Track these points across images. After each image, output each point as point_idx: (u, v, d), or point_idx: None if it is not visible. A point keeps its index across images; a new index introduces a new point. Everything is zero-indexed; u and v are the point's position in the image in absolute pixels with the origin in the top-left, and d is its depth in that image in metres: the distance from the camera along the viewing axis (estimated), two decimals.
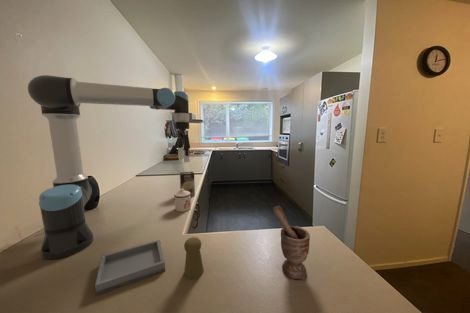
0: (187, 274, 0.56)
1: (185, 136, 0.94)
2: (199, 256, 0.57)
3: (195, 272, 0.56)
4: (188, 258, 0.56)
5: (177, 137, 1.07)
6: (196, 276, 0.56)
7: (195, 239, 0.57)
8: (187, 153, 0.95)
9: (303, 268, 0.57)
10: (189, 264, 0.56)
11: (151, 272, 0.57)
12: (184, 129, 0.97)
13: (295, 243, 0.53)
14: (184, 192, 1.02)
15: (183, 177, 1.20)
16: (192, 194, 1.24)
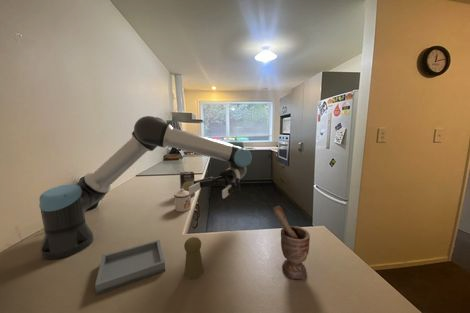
0: (187, 274, 0.56)
1: None
2: (199, 256, 0.57)
3: (195, 272, 0.56)
4: (188, 258, 0.56)
5: None
6: (196, 276, 0.56)
7: (195, 239, 0.57)
8: (232, 190, 0.66)
9: (303, 268, 0.57)
10: (189, 264, 0.56)
11: (151, 272, 0.57)
12: None
13: (295, 243, 0.53)
14: (184, 192, 1.02)
15: (183, 177, 1.20)
16: (192, 194, 1.24)
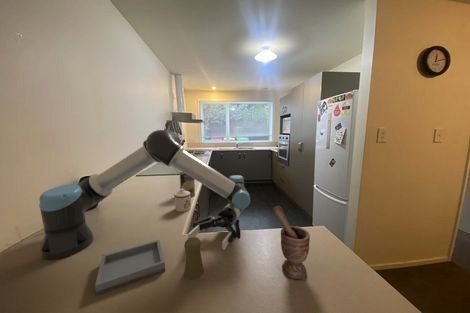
0: (187, 274, 0.56)
1: (238, 225, 0.74)
2: (199, 256, 0.57)
3: (195, 272, 0.56)
4: (188, 258, 0.56)
5: (204, 218, 0.78)
6: (196, 276, 0.56)
7: (195, 239, 0.57)
8: (232, 239, 0.65)
9: (303, 268, 0.57)
10: (189, 264, 0.56)
11: (151, 272, 0.57)
12: (233, 221, 0.78)
13: (295, 243, 0.53)
14: (184, 192, 1.02)
15: (183, 177, 1.20)
16: (192, 194, 1.24)
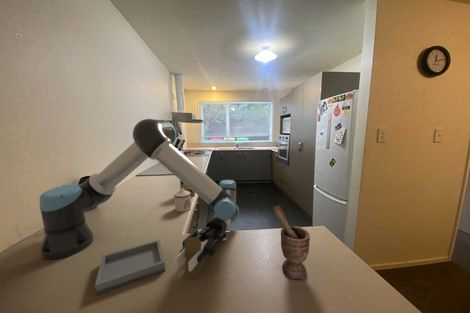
0: (187, 274, 0.56)
1: (221, 241, 0.63)
2: None
3: (195, 272, 0.56)
4: (188, 258, 0.56)
5: (191, 233, 0.66)
6: (196, 276, 0.56)
7: (195, 239, 0.57)
8: (202, 258, 0.56)
9: (303, 268, 0.57)
10: None
11: (151, 272, 0.57)
12: (223, 234, 0.68)
13: (295, 243, 0.53)
14: (184, 192, 1.02)
15: None
16: (192, 194, 1.24)
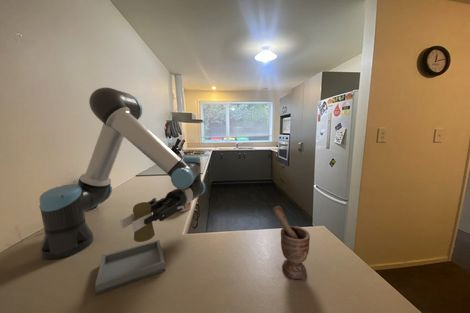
0: (135, 237, 0.56)
1: (175, 208, 0.63)
2: None
3: (143, 235, 0.56)
4: None
5: (147, 202, 0.67)
6: (144, 239, 0.56)
7: (144, 203, 0.58)
8: (150, 221, 0.56)
9: (303, 268, 0.57)
10: None
11: (151, 272, 0.57)
12: None
13: (295, 243, 0.53)
14: None
15: None
16: None
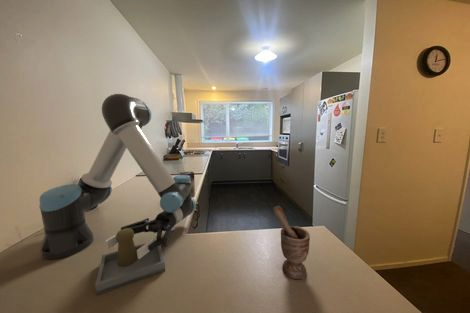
0: (118, 262, 0.60)
1: (170, 230, 0.66)
2: (131, 246, 0.61)
3: (126, 260, 0.60)
4: (119, 247, 0.60)
5: (137, 222, 0.71)
6: (126, 264, 0.60)
7: (127, 230, 0.61)
8: (154, 246, 0.58)
9: (303, 268, 0.57)
10: (119, 252, 0.60)
11: (151, 272, 0.57)
12: (169, 225, 0.71)
13: (295, 243, 0.53)
14: None
15: None
16: (192, 194, 1.24)
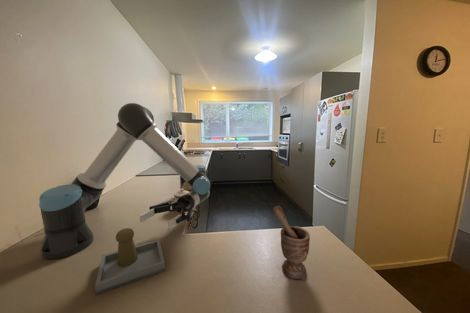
0: (118, 262, 0.60)
1: (191, 210, 0.78)
2: (131, 245, 0.61)
3: (126, 260, 0.60)
4: (119, 247, 0.60)
5: (162, 203, 0.83)
6: (126, 264, 0.60)
7: (127, 230, 0.61)
8: (180, 220, 0.70)
9: (303, 268, 0.57)
10: (119, 252, 0.60)
11: (151, 272, 0.57)
12: None
13: (295, 243, 0.53)
14: (184, 192, 1.02)
15: None
16: None
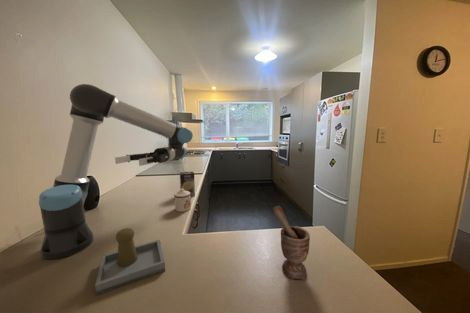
0: (118, 262, 0.60)
1: (164, 157, 0.86)
2: (131, 245, 0.61)
3: (126, 260, 0.60)
4: (119, 247, 0.60)
5: (138, 154, 0.90)
6: (126, 264, 0.60)
7: (127, 230, 0.61)
8: (151, 161, 0.78)
9: (303, 268, 0.57)
10: (119, 252, 0.60)
11: (151, 272, 0.57)
12: None
13: (295, 243, 0.53)
14: (184, 192, 1.02)
15: (183, 177, 1.20)
16: (192, 194, 1.24)
